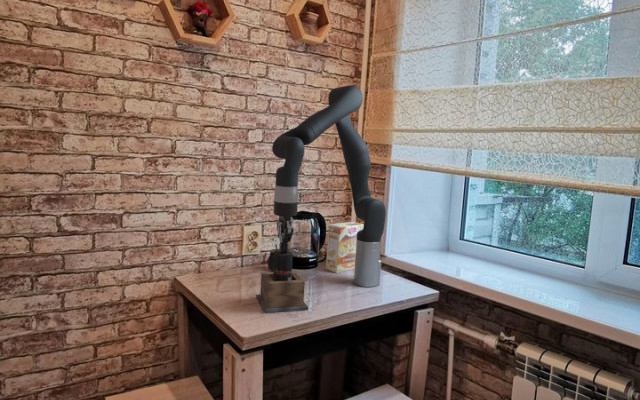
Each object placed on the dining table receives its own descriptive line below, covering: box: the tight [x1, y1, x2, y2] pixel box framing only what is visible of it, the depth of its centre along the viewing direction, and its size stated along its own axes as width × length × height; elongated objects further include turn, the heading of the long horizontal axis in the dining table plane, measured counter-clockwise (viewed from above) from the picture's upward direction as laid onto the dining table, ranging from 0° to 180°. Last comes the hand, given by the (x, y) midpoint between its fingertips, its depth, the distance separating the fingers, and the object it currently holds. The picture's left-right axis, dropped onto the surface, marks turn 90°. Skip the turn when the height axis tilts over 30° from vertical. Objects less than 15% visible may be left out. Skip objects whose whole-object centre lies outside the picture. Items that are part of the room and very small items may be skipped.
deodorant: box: [272, 250, 294, 281], centre depth 141 cm, size 6×6×15 cm
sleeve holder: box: [255, 270, 309, 314], centre depth 141 cm, size 14×14×9 cm
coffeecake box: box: [325, 221, 364, 274], centre depth 184 cm, size 15×7×20 cm, turn 132°
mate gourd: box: [267, 243, 280, 272], centre depth 178 cm, size 7×8×10 cm
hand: (283, 253), depth 140 cm, fingers closed
